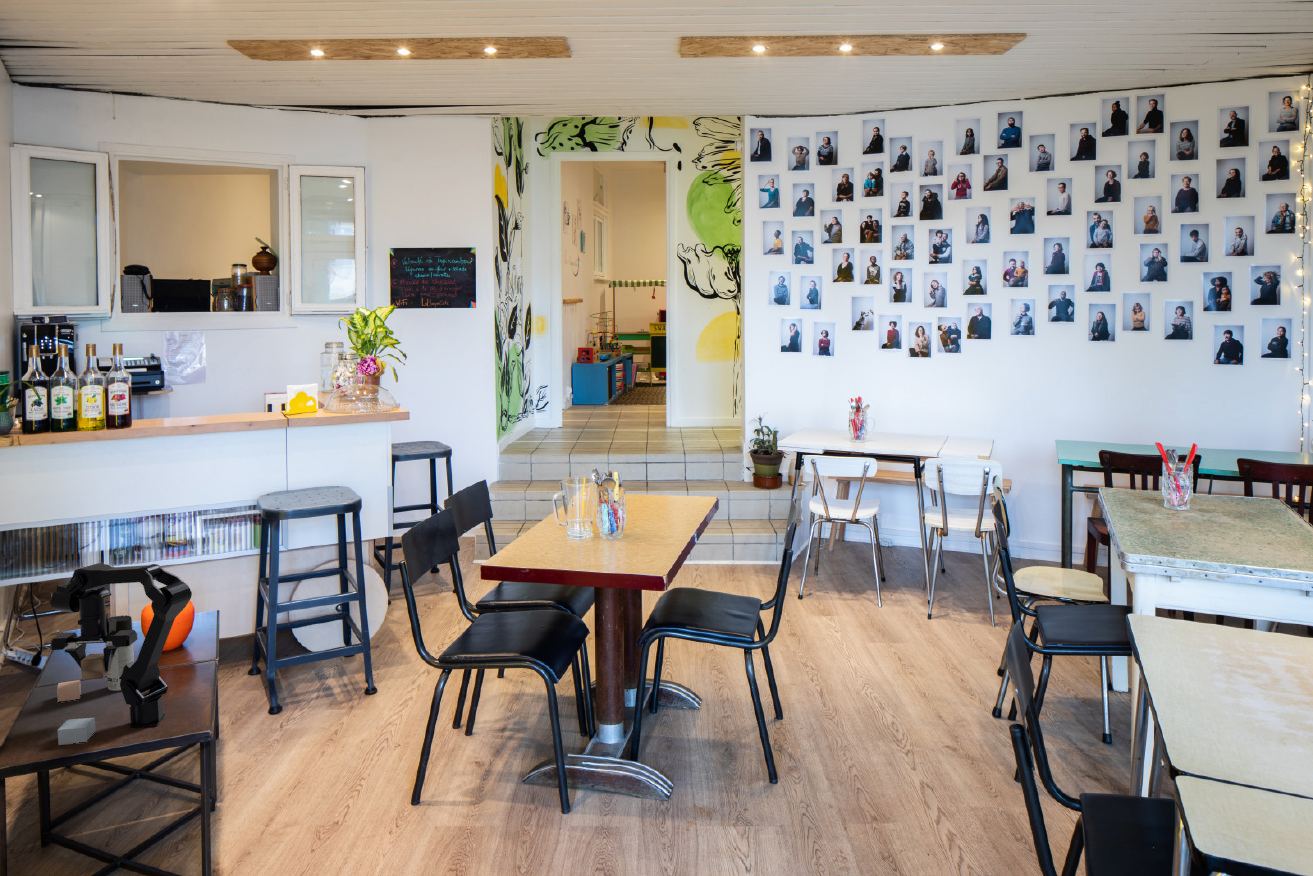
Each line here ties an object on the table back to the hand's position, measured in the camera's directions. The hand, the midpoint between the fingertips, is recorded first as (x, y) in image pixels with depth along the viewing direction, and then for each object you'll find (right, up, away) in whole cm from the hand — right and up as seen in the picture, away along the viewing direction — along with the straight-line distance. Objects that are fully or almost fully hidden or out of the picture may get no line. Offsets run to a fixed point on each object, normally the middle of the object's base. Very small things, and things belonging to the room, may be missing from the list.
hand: (96, 671), depth 236 cm
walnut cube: (0, -1, 0) cm, 1 cm away
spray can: (-5, -10, +20) cm, 23 cm away
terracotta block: (-15, -11, +13) cm, 23 cm away
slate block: (+3, -14, -12) cm, 18 cm away
